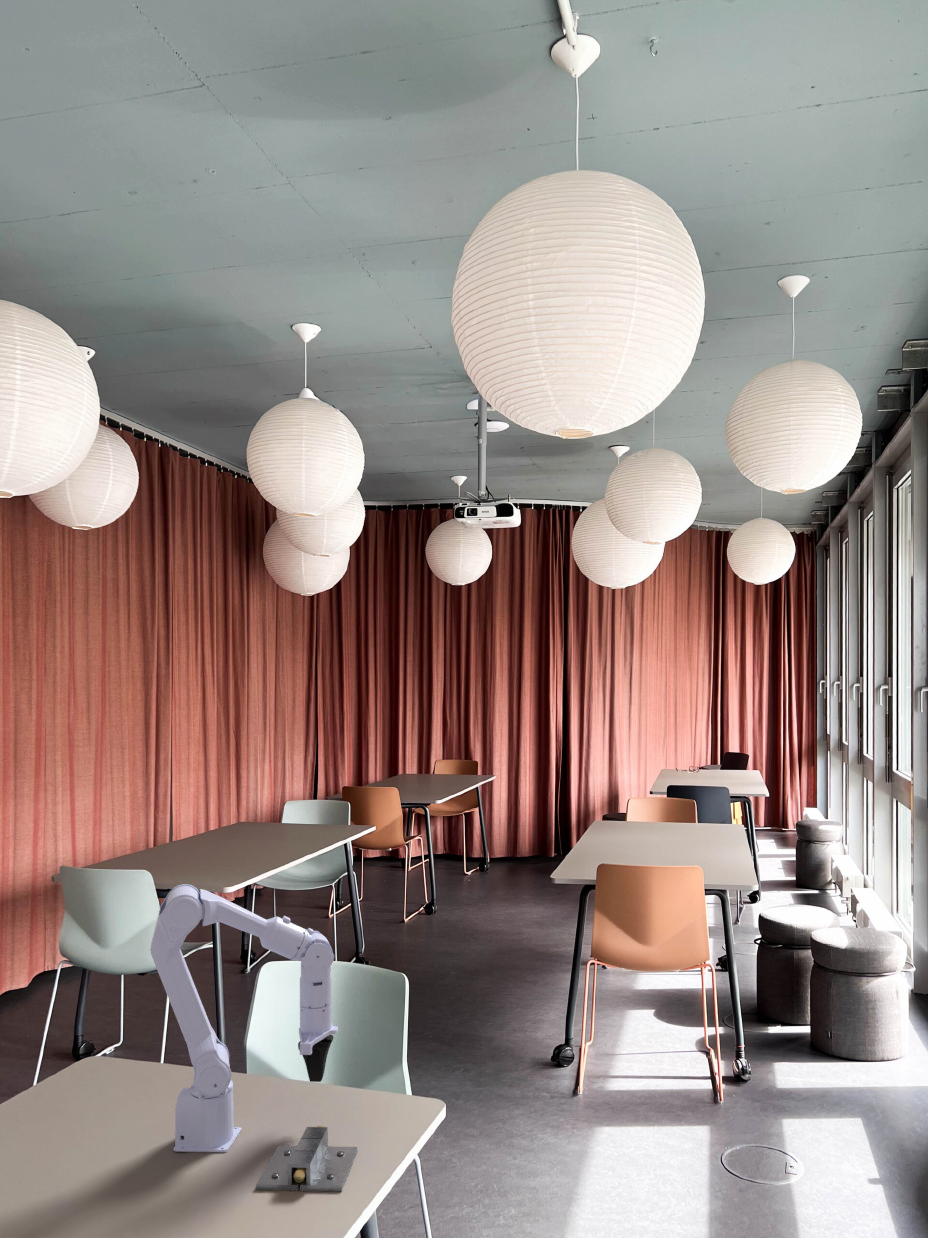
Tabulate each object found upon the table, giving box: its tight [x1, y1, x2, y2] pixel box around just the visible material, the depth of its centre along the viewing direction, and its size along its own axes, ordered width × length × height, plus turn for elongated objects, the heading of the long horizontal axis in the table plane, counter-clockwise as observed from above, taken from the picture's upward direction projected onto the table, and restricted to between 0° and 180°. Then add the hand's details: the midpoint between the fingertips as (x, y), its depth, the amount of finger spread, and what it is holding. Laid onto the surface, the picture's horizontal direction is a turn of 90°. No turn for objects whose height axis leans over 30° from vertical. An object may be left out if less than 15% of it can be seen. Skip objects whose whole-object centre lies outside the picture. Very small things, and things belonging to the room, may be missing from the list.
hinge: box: [256, 1126, 358, 1192], centre depth 150 cm, size 14×12×4 cm
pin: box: [294, 1125, 324, 1183], centre depth 151 cm, size 3×14×3 cm, turn 175°
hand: (316, 1080), depth 166 cm, fingers closed
